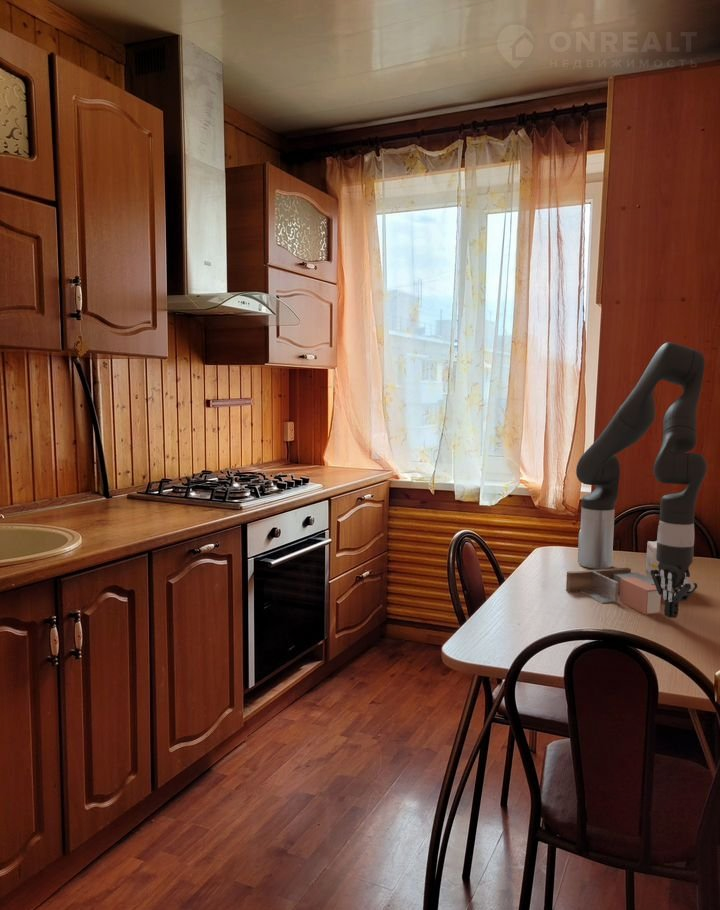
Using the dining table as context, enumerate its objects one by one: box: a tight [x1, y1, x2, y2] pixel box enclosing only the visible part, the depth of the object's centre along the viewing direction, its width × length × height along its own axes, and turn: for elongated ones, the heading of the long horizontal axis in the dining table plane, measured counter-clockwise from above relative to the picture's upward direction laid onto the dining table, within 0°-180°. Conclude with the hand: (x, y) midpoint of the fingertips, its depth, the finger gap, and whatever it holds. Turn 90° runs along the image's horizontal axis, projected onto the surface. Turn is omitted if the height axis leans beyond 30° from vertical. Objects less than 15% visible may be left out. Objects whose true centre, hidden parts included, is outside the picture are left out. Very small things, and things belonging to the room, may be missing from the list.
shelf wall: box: [565, 567, 632, 593], centre depth 183 cm, size 2×18×5 cm, turn 105°
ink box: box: [644, 540, 659, 579], centre depth 184 cm, size 9×8×12 cm
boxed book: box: [618, 577, 662, 615], centre depth 168 cm, size 10×4×6 cm, turn 15°
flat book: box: [613, 571, 655, 593], centre depth 179 cm, size 10×7×4 cm
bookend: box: [579, 572, 619, 604], centre depth 176 cm, size 10×4×5 cm, turn 15°
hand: (670, 616), depth 158 cm, fingers closed
